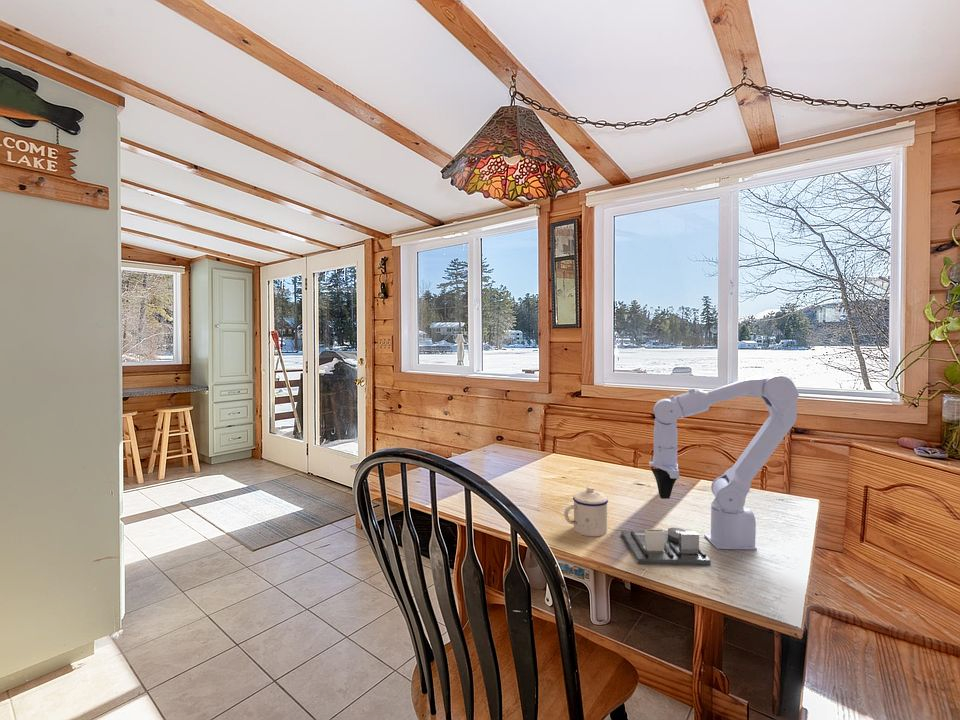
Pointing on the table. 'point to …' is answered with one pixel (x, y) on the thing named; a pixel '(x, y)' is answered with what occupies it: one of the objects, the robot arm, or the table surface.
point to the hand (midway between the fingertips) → (664, 497)
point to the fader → (654, 539)
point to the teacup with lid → (589, 513)
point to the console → (667, 548)
